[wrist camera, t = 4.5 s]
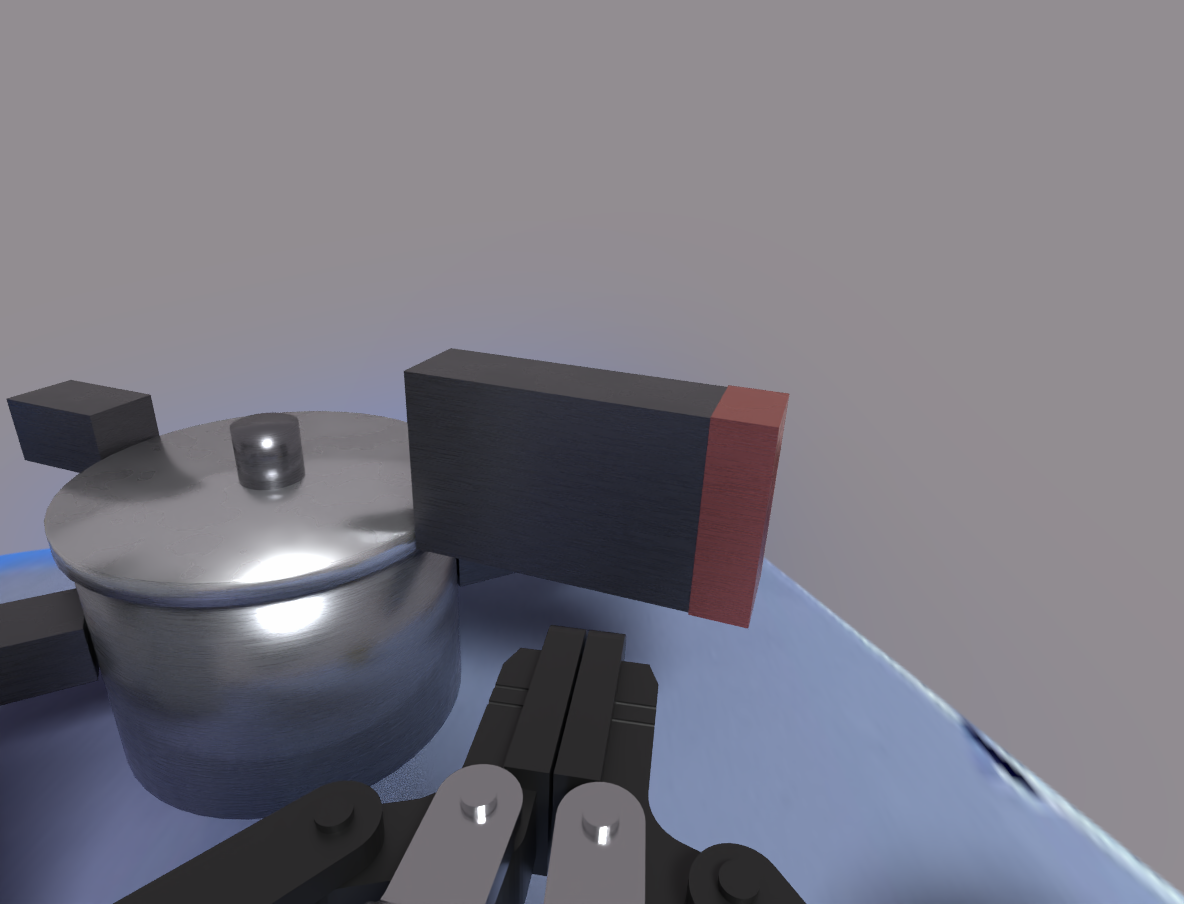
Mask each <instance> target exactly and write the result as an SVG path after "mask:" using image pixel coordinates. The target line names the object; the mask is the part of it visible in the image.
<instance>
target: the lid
mask: <svg viewBox="0 0 1184 904" xmlns="http://www.w3.org/2000/svg"><path fill="white" fill-rule="evenodd" d="M404 378H405V393H406V407H407V408H406V409H407V422H404V421H400V420H396V419H391V418H387V417H382V416H375V415H368V414H360V413H349V412H329V411H328V412H327V411H311V412H310V411H307V412H306V411H304V412H286V413H285V412H284V413H261V414H255V415H250V416H246V417H239V418H233V419H227V420H222V421H216V422H211V423H207V424H202V425H198V426H193V427H190V428H186V429H182V430H178V431H174V432H171V433H168V434H165V435H161V436H159V432H158V427H157V423H156V418H155V413H154V409H153V405H152V400H151V395H149V394H143V393H138V392H133V391H127V390H122V389H116V388H111V387H105V386H100V385H95V384H89V383H84V382H78V381H73V380H69V381H66V382H63V383H59V384H56V385H52V386H49V387H45V388H42V389H38V390H35V391H32V392H28V393H25V394H21V395H18V396H14V397H11V398H8V399H7V402H8V406H9V409H10V412H11V415H12V419H13V422H14V425H15V429H16V432H17V435H18V438H19V442H20V445H21V449H22V452H23V455H24V458H25V460H27V461H31V462H36V463H40V464H44V465H48V466H53V467H57V468H62V469H66V470H70V471H74V472H79V474H78V475H77V476H76V477H74V478H73V479H72V480H71V481H69V482H68V483H67V484H66V485H64V487H63V488H62V489H61V490H60V491H59V492H58V493H57V494H56V495H55V496H54V498H53V500H52V501H51V503H50V505H49V506H48V508H47V511H46V515H45V519H44V526H45V533H46V536H47V540H48V543H49V546H50V550H51V553H52V556H53V558H54V560H55V562H56V564H57V566H58V568H59V569H60V570H61V571H62V572H63V573H64V574H65V575H66V576H67V577H68V578H69V579H70V580H72V581H74V582H75V583H77V584H79V585H81V586H82V587H84V588H86V589H88V590H90V591H93V592H96V593H98V594H101V595H104V596H106V597H110V598H114V599H118V600H123V601H127V602H131V603H138V604H146V605H154V606H163V607H190V608H197V607H222V606H234V605H243V604H253V603H261V602H267V601H273V600H278V599H284V598H290V597H295V596H299V595H303V594H307V593H311V592H315V591H319V590H323V589H327V588H330V587H333V586H336V585H339V584H343V583H346V582H349V581H352V580H355V579H357V578H360V577H362V576H365V575H367V574H370V573H372V572H375V571H377V570H380V569H382V568H384V567H386V566H388V565H390V564H392V563H394V562H396V561H398V560H400V559H402V558H404V557H406V556H407V555H409V554H410V553H412V552H414V551H415V550H417V549H419V550H423V551H427V552H432V553H436V554H440V555H444V556H449V557H453V558H457V559H462V560H466V561H470V562H474V563H479V564H483V565H487V566H492V567H496V568H500V569H504V570H509V571H513V572H517V573H522V574H526V575H530V576H535V577H539V578H543V579H547V580H552V581H556V582H560V583H565V584H569V585H573V586H577V587H582V588H586V589H590V590H595V591H599V592H603V593H607V594H612V595H616V596H620V597H625V598H629V599H633V600H637V601H642V602H646V603H650V604H655V605H659V606H663V607H667V608H672V609H676V610H680V611H685V612H689V613H688V615H692V616H697V617H701V618H705V619H709V620H714V621H718V622H722V623H727V624H731V625H735V626H739V627H744V628H748V627H749V623H750V619H751V615H752V610H753V606H754V602H755V598H756V593H757V589H758V585H759V581H760V577H761V570H762V564H763V558H764V551H765V545H766V538H767V532H768V526H769V520H770V513H771V507H772V501H773V494H774V488H775V481H776V475H777V469H778V462H779V456H780V450H781V444H782V437H783V431H784V424H785V418H786V412H787V405H788V399H789V394H788V393H780V392H773V391H766V390H758V389H752V388H744V387H737V386H728V387H724V386H716V385H709V384H702V383H695V382H688V381H680V380H674V379H666V378H659V377H652V376H645V375H637V374H630V373H623V372H616V371H609V370H602V369H595V368H588V367H581V366H573V365H566V364H558V363H552V362H544V361H538V360H531V359H523V358H516V357H508V356H501V355H495V354H487V353H480V352H473V351H466V350H458V349H452V348H451V349H449V350H447V351H444V352H442V353H440V354H438V355H436V356H434V357H432V358H430V359H428V360H426V361H424V362H422V363H420V364H418V365H416V366H414V367H411V368H409V369H407V370H405V371H404Z"/></svg>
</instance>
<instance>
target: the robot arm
mask: <svg viewBox="0 0 1184 904" xmlns="http://www.w3.org/2000/svg"><path fill="white" fill-rule="evenodd" d="M625 644H626V634H619V633H611V632H603V631H595V630H589V632H588V636H587V630H586V629H578V628H570V627H563V626H555V625H551V626H550V627H549V630H548V633H547V636H546V639H545V642H544V645H543V648H542V650H534V649H527V648H520V649H519V650H518V651H517V652H516V653H515V654H513V655H512V656H511V657H510V658H509V659H508V660H507V661H506V662H505V663H504V664H503V666H502V669H501V671H500V674H499V676H498V679H497V682H496V685H495V688H494V689H493V692H492V694H491V697H490V699H489V704H488V705H487V707H486V709H485V712H484V714H483V717H482V720H481V722H480V725H479V727H478V730H477V732H476V735H475V737H474V740H473V742H472V745H471V747H470V750H469V753H468V755H467V758H466V760H465V763H464V765H463V767H462V769H460V770H458V771H456V772H454V773H453V774H451V775H450V776H449V777H448V778H446V780H445V781H444V782H443V783H442V784H441V786H440V787H439V789H438V790H437V792H436V793H434V794H431V795H429V796H426V797H423V798H419V799H414V800H408V801H400V802H393V803H385V804H382V803H381V800H380V797H379V796H378V794H377V793H376V792H375V791H374V790H373V789H372V788H371V787H369V786H368V785H366V784H364V783H361V782H357V781H337V782H332V783H329V784H326V785H323V786H321V787H319V788H317V789H315V790H313V791H311V792H310V793H308V794H306V795H304V796H303V797H301V798H299V799H297V800H295V801H294V802H292V803H290V804H288V805H287V806H285V807H283V808H281V809H280V810H278V811H276V812H274V813H272V814H271V815H269V816H267V817H265V818H264V819H262V820H260V821H258V822H257V823H255V824H253V825H251V826H250V827H248V828H246V829H244V830H242V831H241V832H239V833H237V834H235V835H234V836H232V837H230V838H228V839H227V840H225V841H223V842H221V843H219V844H218V845H216V846H214V847H212V848H211V849H209V850H207V851H205V852H204V853H202V854H200V855H198V856H197V857H195V858H193V859H191V860H189V861H188V862H186V863H184V864H182V865H181V866H179V867H177V868H175V869H174V870H172V871H170V872H168V873H166V874H165V875H163V876H161V877H159V878H158V879H156V880H154V881H152V882H151V883H149V884H147V885H145V886H144V887H142V888H140V889H138V890H136V891H135V892H133V893H131V894H129V895H128V896H126V897H124V898H122V899H121V900H119V901H117V902H115V903H113V904H524V903H525V900H526V895H527V891H528V887H529V883H530V879H531V875H532V874H537V875H543V876H547V873H548V877H547V884H546V891H545V898H544V904H806V903H805V902H804V901H803V899H802V898H801V897H800V896H799V895H798V893H797V892H796V891H795V890H794V889H793V887H792V886H791V885H790V884H789V883H788V881H787V880H786V879H785V878H784V877H783V876H782V874H781V873H780V872H779V871H778V870H777V868H776V867H775V866H774V865H773V864H772V863H771V862H770V861H769V860H768V859H767V858H766V857H764V856H763V855H762V854H760V853H759V852H757V851H755V850H753V849H751V848H749V847H746V846H743V845H739V844H732V843H722V844H717V845H713V846H711V847H709V848H707V849H705V850H704V851H702V852H699V851H697V850H695V849H693V848H691V847H689V846H687V845H685V844H683V843H681V842H679V841H678V840H676V839H674V838H673V837H671V836H670V835H669V834H668V833H666V832H665V831H664V830H663V829H662V828H661V826H660V825H659V824H658V823H657V821H656V820H655V818H654V816H653V814H652V812H651V809H650V806H649V800H648V790H649V780H650V769H651V758H652V748H653V737H654V726H655V716H656V705H657V694H658V683H657V681H656V678H655V676H654V674H653V672H652V670H651V667H650V665H648V664H641V663H633V662H626V661H624V657H625Z"/></svg>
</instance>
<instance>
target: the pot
mask: <svg viewBox="0 0 1184 904" xmlns="http://www.w3.org/2000/svg"><path fill="white" fill-rule="evenodd" d="M512 573H516V572H513V571H509V570H504V569H500V568H496V567H492V566H487V565H483V564H479V563H474V562H470V561H466V560H462V559H457V558H453V557H449V556H444V555H440V554H436V553H432V552H427V551H423V550H419V549H417V550H415V551H414V552H412V553H410V554H409V555H407V556H406V557H404V558H402V559H400V560H398V561H396V562H394V563H392V564H390V565H388V566H386V567H384V568H382V569H380V570H377V571H375V572H372V573H370V574H367V575H365V576H362V577H360V578H357V579H355V580H352V581H349V582H346V583H343V584H339V585H336V586H333V587H330V588H327V589H323V590H319V591H315V592H311V593H307V594H303V595H299V596H295V597H290V598H284V599H278V600H273V601H267V602H261V603H253V604H243V605H234V606H222V607H197V608H190V607H163V606H154V605H146V604H138V603H131V602H127V601H123V600H118V599H114V598H110V597H106V596H104V595H101V594H98V593H96V592H93V591H90V590H88V589H86V588H84V587H82V586H81V585H79V584H77V583H75V585H76V589H71V590H66V591H61V592H56V593H52V594H47V595H42V596H37V597H32V598H27V599H22V600H18V601H13V602H8V603H3V604H0V706H1V705H4V704H8V703H12V702H16V701H20V700H24V699H28V698H32V697H35V696H39V695H43V694H47V693H51V692H55V691H59V690H63V689H66V688H70V687H74V686H78V685H82V684H86V683H90V682H94V681H97V680H98V675H99V667H100V670H101V673H102V677H103V680H104V683H105V687H106V690H107V694H108V697H109V700H110V704H111V707H112V711H113V714H114V717H115V721H116V724H117V727H118V731H119V734H120V738H121V741H122V744H123V748H124V751H125V755H126V758H127V761H128V764H129V766H130V768H131V770H132V772H133V774H134V776H135V778H136V779H137V780H138V781H139V782H140V783H141V784H142V786H143V787H144V788H145V789H146V790H147V791H149V792H150V793H151V794H153V795H154V796H155V797H157V798H158V799H159V800H161V801H163V802H165V803H167V804H169V805H171V806H173V807H175V808H177V809H180V810H184V811H187V812H191V813H194V814H197V815H202V816H209V817H216V818H222V819H256V818H265V817H267V816H269V815H271V814H272V813H274V812H276V811H278V810H280V809H281V808H283V807H285V806H287V805H288V804H290V803H292V802H294V801H295V800H297V799H299V798H301V797H303V796H304V795H306V794H308V793H310V792H311V791H313V790H315V789H317V788H319V787H321V786H323V785H326V784H329V783H332V782H337V781H357V782H361V783H364V784H366V785H368V786H371V785H373V784H375V783H376V782H378V781H380V780H381V779H383V778H384V777H386V776H388V775H389V774H391V773H393V772H394V771H396V770H397V769H398V768H400V767H401V766H402V765H403V764H405V763H406V762H407V761H409V760H410V759H411V758H413V757H414V756H415V755H416V754H417V753H418V752H419V751H420V750H421V749H422V748H423V747H424V746H425V745H426V744H427V743H428V742H429V741H430V740H431V739H432V738H433V737H434V735H435V734H436V733H437V732H438V730H439V729H440V728H441V727H442V725H443V723H444V722H445V720H446V719H447V717H448V715H449V714H450V712H451V710H452V708H453V705H454V703H455V701H456V698H457V695H458V691H459V686H460V679H461V659H460V635H459V611H458V588H457V583H458V584H459V586H460V587H461V586H465V585H469V584H473V583H477V582H481V581H485V580H489V579H492V578H496V577H500V576H504V575H508V574H512Z"/></svg>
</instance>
